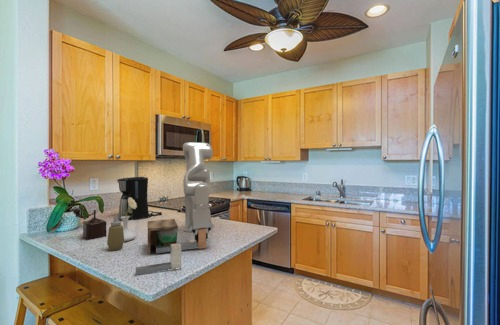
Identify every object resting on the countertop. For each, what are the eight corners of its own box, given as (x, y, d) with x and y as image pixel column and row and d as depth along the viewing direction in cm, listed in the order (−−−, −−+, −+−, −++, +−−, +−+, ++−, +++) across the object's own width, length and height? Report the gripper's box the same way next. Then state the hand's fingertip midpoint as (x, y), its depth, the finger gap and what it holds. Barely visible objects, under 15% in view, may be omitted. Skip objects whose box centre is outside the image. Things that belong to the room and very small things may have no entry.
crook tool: (201, 240, 139) (201, 223, 139) (205, 247, 128) (206, 228, 128) (155, 246, 130) (155, 228, 130) (156, 254, 119) (156, 234, 119)
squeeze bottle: (112, 252, 123) (112, 217, 123) (103, 249, 127) (104, 215, 127) (127, 248, 130) (127, 214, 130) (119, 245, 134) (119, 212, 134)
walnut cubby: (174, 241, 141) (174, 218, 141) (177, 251, 125) (177, 225, 125) (147, 244, 135) (147, 221, 135) (147, 255, 120) (147, 228, 120)
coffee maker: (112, 218, 198) (112, 177, 198) (150, 211, 223) (150, 175, 223) (125, 222, 184) (125, 178, 184) (163, 215, 209) (163, 176, 209)
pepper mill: (101, 232, 157) (101, 205, 157) (106, 236, 150) (107, 207, 149) (72, 238, 145) (72, 208, 145) (76, 242, 138) (77, 211, 138)
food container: (156, 251, 126) (157, 231, 126) (155, 247, 131) (155, 228, 131) (180, 247, 131) (181, 228, 131) (178, 243, 137) (178, 226, 137)
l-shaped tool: (179, 265, 109) (180, 243, 109) (181, 268, 105) (181, 245, 105) (135, 272, 101) (135, 248, 101) (135, 276, 98) (135, 251, 98)
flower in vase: (124, 244, 136) (124, 199, 136) (109, 241, 140) (109, 198, 140) (142, 237, 148) (142, 196, 148) (128, 235, 152) (128, 195, 152)
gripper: (214, 204, 137) (214, 236, 137) (184, 206, 130) (184, 240, 130) (218, 207, 130) (218, 241, 130) (186, 209, 123) (186, 245, 123)
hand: (201, 240), depth 130 cm, fingers closed on crook tool, 4 cm apart
